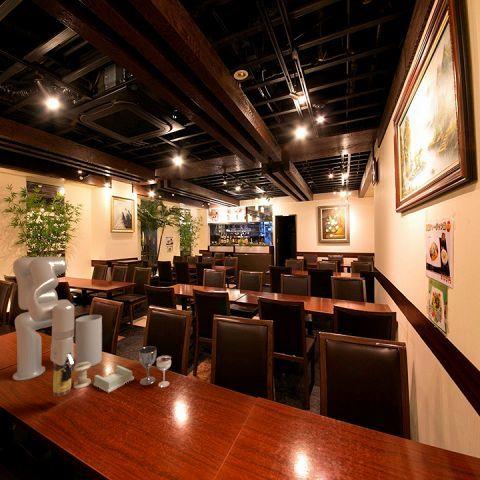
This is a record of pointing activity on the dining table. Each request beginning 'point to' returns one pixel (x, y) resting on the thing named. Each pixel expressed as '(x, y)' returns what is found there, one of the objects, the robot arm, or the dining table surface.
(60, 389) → the sauce bottle
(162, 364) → the wineglass
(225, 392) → the dining table surface
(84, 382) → the bobbin
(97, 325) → the cylinder vase
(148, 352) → the wine glass
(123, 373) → the notched board
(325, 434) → the dining table surface
